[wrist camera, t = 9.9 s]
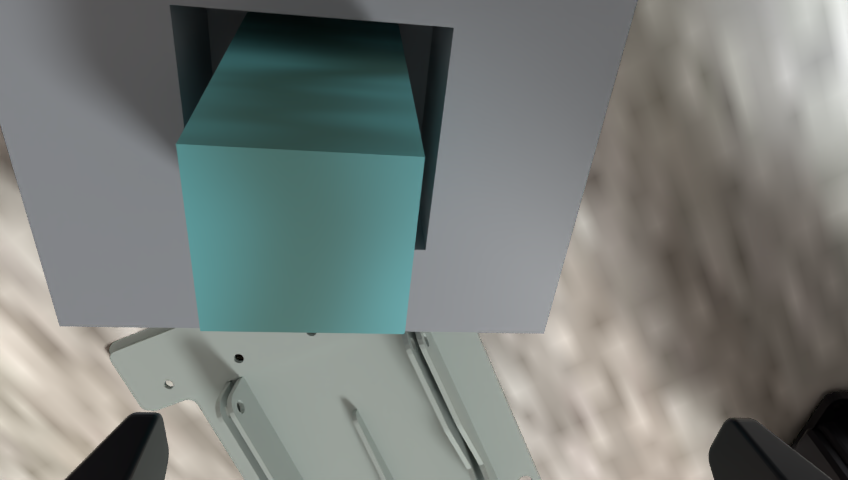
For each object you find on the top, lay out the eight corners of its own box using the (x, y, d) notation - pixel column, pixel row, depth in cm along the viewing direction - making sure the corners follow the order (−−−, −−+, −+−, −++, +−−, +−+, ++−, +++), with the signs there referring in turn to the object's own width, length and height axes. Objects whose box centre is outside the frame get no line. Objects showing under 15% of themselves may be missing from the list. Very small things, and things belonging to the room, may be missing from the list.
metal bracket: (612, 529, 23) (257, 635, 25) (578, 432, 29) (289, 526, 31) (474, 184, 19) (61, 347, 21) (465, 147, 25) (139, 280, 27)
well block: (603, -124, 16) (667, -108, 13) (516, 257, 23) (543, 333, 19) (11, -193, 14) (-95, -195, 11) (106, 244, 21) (59, 325, 17)
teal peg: (398, 23, 17) (424, 156, 10) (388, 155, 19) (404, 334, 13) (247, 11, 16) (175, 143, 10) (254, 148, 19) (199, 330, 12)
